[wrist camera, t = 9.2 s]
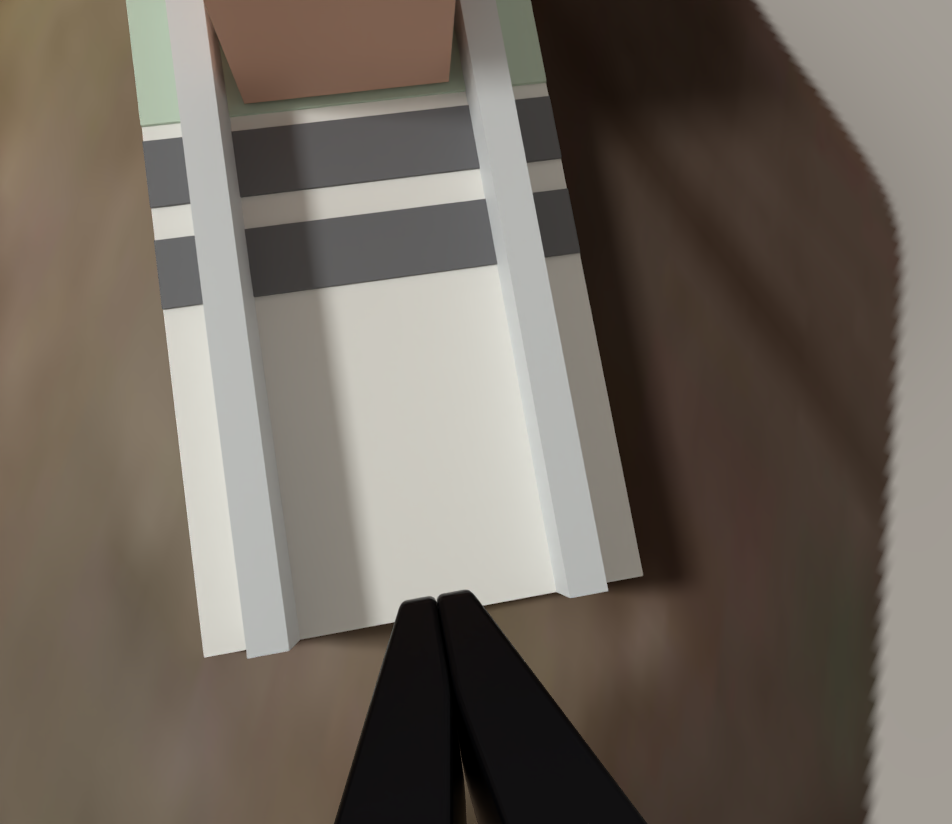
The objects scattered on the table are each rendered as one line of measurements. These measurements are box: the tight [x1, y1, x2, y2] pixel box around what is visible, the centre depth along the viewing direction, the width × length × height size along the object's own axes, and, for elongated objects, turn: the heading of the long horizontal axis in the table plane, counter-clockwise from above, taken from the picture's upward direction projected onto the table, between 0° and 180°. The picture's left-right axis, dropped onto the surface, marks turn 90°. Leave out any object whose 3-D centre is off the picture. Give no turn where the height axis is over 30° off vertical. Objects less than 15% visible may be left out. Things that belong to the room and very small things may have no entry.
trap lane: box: [126, 0, 643, 659], centre depth 19 cm, size 21×12×7 cm, turn 10°
